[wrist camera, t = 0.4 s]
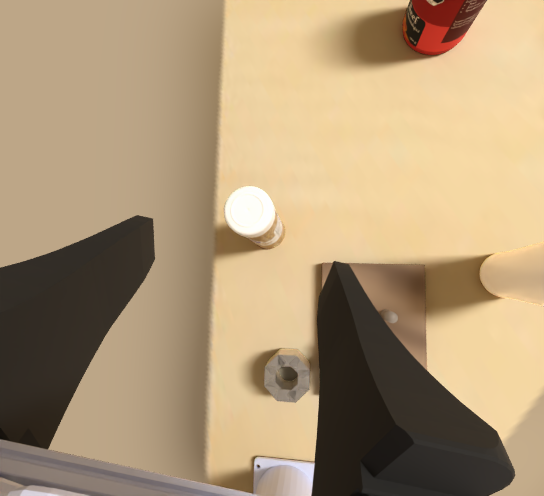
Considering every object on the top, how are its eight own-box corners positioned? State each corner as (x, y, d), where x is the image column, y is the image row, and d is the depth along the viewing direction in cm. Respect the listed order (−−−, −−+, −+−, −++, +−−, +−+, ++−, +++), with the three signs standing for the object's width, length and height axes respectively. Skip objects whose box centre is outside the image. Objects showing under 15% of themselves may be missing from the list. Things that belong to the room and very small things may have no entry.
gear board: (423, 400, 36) (438, 416, 32) (320, 392, 37) (321, 407, 33) (421, 265, 37) (434, 263, 33) (322, 263, 39) (323, 261, 35)
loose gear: (309, 392, 38) (309, 403, 34) (267, 389, 38) (263, 399, 35) (309, 349, 38) (309, 356, 35) (269, 347, 39) (265, 353, 36)
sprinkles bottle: (250, 247, 40) (219, 232, 27) (254, 213, 41) (225, 183, 27) (284, 250, 40) (269, 237, 26) (287, 216, 40) (275, 186, 27)
